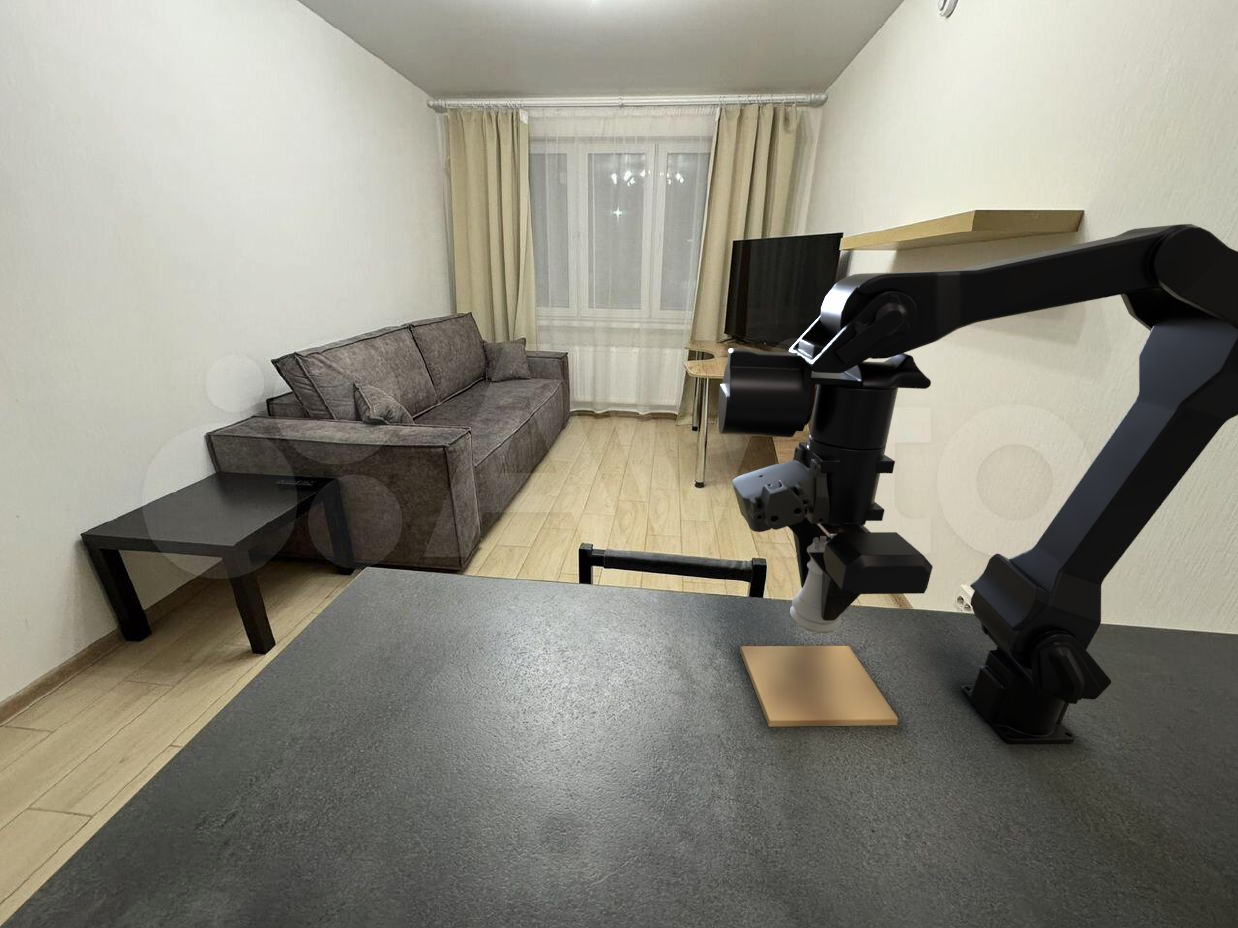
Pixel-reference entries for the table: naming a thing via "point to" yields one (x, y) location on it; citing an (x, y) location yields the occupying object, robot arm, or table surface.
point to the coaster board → (814, 687)
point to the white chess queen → (812, 597)
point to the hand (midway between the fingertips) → (817, 603)
